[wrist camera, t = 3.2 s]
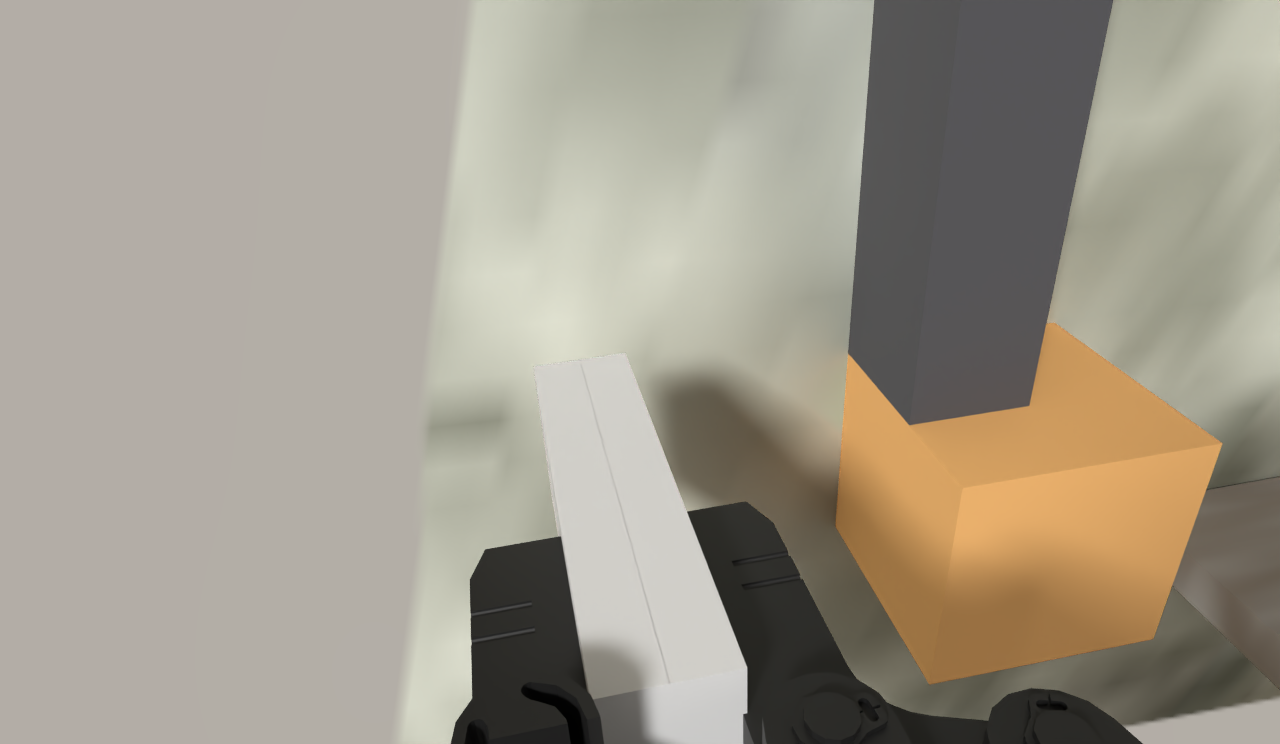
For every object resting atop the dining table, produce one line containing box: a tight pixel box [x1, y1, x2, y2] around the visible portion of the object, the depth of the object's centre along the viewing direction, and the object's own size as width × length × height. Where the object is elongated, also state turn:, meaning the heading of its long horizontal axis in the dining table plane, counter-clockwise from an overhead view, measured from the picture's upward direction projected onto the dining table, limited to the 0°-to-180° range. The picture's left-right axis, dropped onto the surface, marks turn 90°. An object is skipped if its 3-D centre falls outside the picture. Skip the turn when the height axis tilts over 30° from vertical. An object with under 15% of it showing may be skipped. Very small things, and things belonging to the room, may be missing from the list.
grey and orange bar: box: [835, 0, 1223, 685], centre depth 15 cm, size 19×5×5 cm, turn 4°
